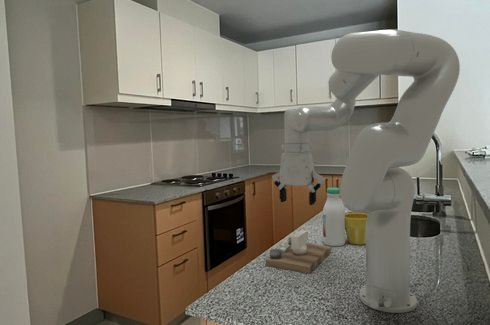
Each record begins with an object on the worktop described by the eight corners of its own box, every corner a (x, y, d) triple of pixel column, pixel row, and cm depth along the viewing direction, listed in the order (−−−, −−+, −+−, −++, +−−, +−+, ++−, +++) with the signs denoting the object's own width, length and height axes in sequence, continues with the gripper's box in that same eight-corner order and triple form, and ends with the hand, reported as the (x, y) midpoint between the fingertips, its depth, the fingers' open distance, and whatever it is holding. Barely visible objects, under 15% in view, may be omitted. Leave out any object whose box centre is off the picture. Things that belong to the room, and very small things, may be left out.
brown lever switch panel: (309, 273, 100) (309, 260, 100) (265, 265, 108) (265, 253, 107) (331, 252, 117) (330, 240, 117) (292, 246, 125) (291, 235, 124)
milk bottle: (349, 242, 127) (348, 187, 126) (338, 248, 122) (337, 190, 120) (329, 238, 132) (329, 186, 131) (319, 244, 127) (318, 188, 125)
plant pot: (342, 237, 134) (342, 211, 133) (371, 238, 131) (371, 212, 130) (342, 245, 124) (342, 218, 123) (373, 247, 121) (373, 219, 120)
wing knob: (301, 256, 108) (301, 237, 108) (288, 254, 110) (288, 235, 110) (311, 248, 116) (311, 230, 115) (299, 246, 118) (298, 228, 117)
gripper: (266, 149, 111) (267, 202, 113) (319, 149, 102) (320, 207, 104) (277, 147, 118) (277, 198, 119) (327, 148, 109) (328, 203, 110)
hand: (297, 202), depth 112 cm, fingers open, 9 cm apart
